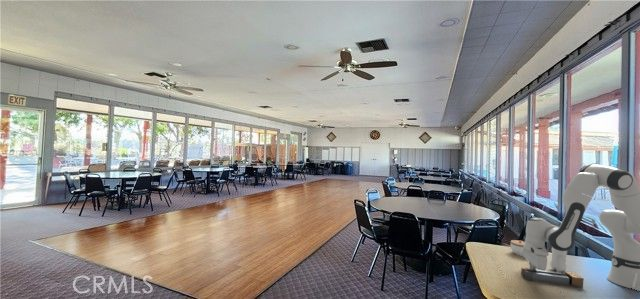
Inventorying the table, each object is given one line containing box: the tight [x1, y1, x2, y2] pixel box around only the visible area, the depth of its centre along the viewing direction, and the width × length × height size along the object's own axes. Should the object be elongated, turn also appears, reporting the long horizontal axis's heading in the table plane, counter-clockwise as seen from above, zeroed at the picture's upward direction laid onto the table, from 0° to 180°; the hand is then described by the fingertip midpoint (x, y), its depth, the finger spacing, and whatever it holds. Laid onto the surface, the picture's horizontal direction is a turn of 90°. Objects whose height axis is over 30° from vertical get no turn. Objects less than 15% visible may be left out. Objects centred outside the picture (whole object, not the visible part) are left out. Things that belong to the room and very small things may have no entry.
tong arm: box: [520, 266, 567, 278], centre depth 156 cm, size 21×3×4 cm, turn 77°
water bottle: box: [550, 246, 568, 273], centre depth 168 cm, size 7×7×25 cm
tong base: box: [523, 270, 585, 289], centre depth 154 cm, size 26×7×5 cm, turn 78°
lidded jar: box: [510, 239, 525, 257], centre depth 192 cm, size 11×11×9 cm
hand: (532, 271), depth 160 cm, fingers closed
